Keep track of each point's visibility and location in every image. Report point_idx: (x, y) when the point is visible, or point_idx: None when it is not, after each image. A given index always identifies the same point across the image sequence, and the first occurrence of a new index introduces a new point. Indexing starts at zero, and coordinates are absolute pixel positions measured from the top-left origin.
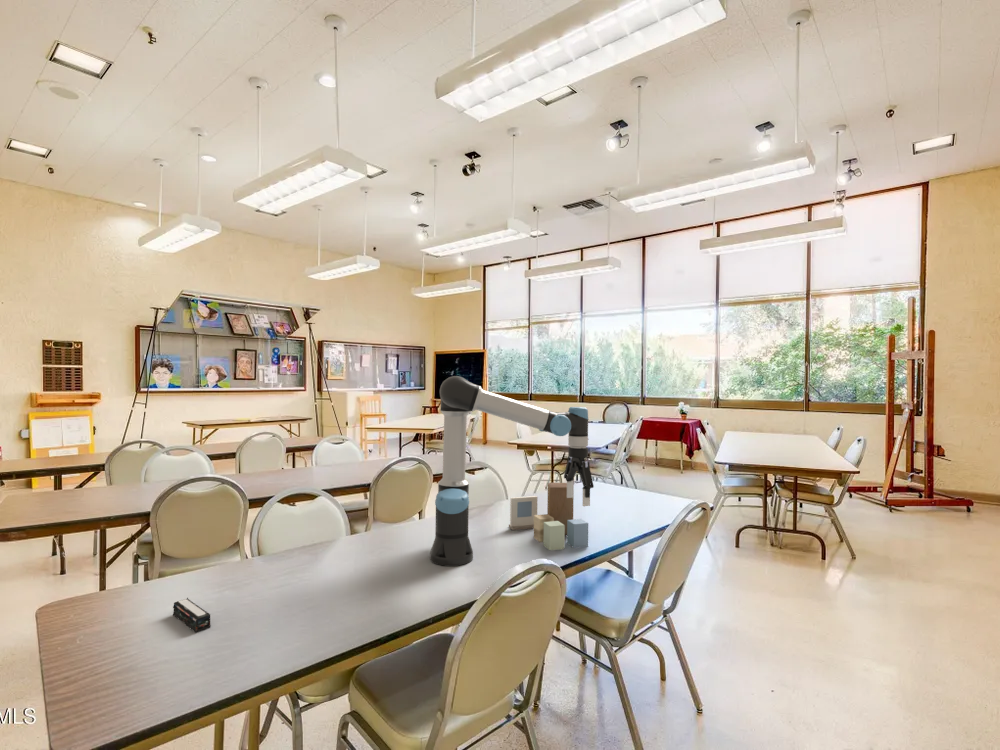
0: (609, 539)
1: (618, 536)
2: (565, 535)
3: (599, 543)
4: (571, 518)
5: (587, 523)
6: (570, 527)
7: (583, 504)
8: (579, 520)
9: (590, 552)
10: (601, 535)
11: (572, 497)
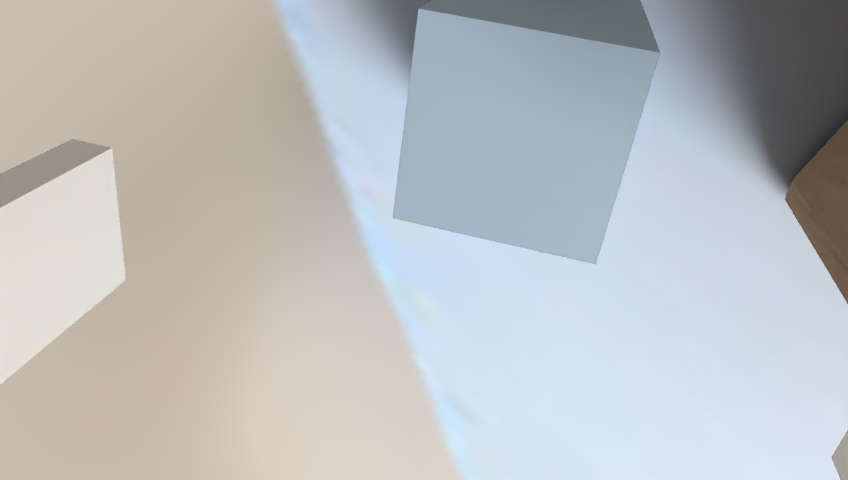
0: (514, 383)
1: (538, 474)
2: (839, 129)
3: (471, 258)
4: (845, 269)
5: (394, 204)
6: (546, 15)
7: (46, 152)
8: (541, 196)
9: (309, 38)
10: (630, 404)
11: (846, 439)
